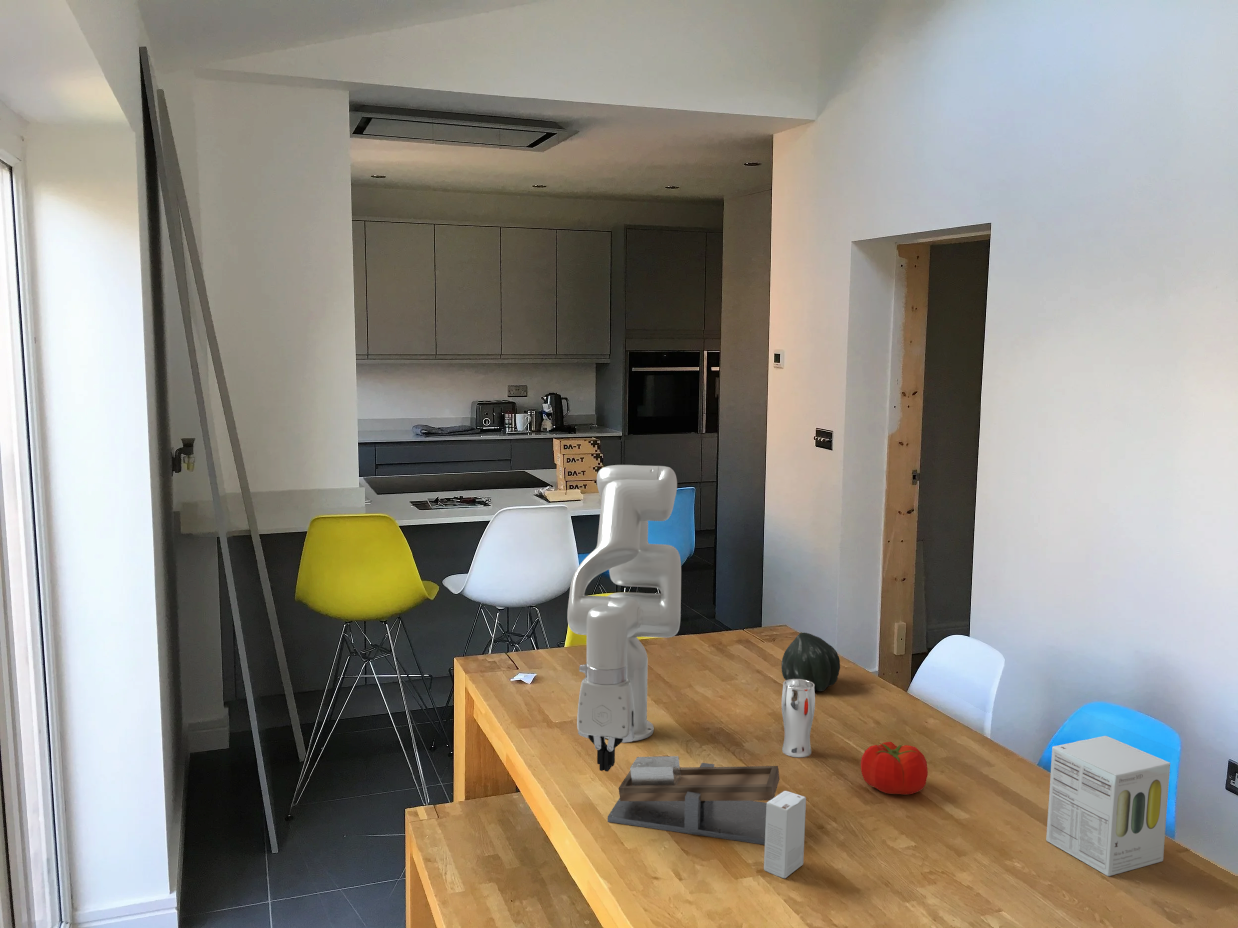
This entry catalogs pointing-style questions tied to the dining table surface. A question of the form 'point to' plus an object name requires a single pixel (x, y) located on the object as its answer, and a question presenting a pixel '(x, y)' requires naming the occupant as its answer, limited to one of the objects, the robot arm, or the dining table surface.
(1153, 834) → the supplement box
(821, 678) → the squash
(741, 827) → the pivot stand
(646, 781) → the steel block
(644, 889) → the dining table surface
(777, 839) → the skincare box
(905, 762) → the tomato
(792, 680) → the beer glass
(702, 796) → the long rimmed wooden tray
